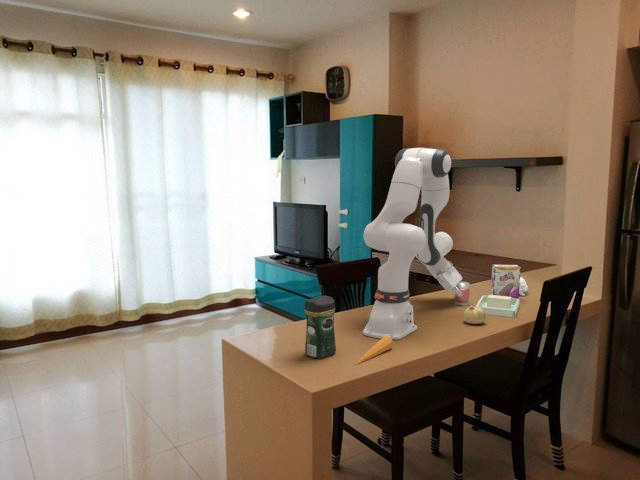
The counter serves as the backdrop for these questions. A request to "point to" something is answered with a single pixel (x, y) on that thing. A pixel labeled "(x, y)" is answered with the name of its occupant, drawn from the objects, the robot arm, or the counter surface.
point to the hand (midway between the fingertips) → (463, 293)
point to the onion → (474, 315)
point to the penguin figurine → (522, 287)
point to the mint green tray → (499, 311)
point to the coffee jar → (320, 327)
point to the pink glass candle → (465, 297)
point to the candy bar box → (505, 280)
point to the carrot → (377, 349)
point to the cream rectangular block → (499, 301)
